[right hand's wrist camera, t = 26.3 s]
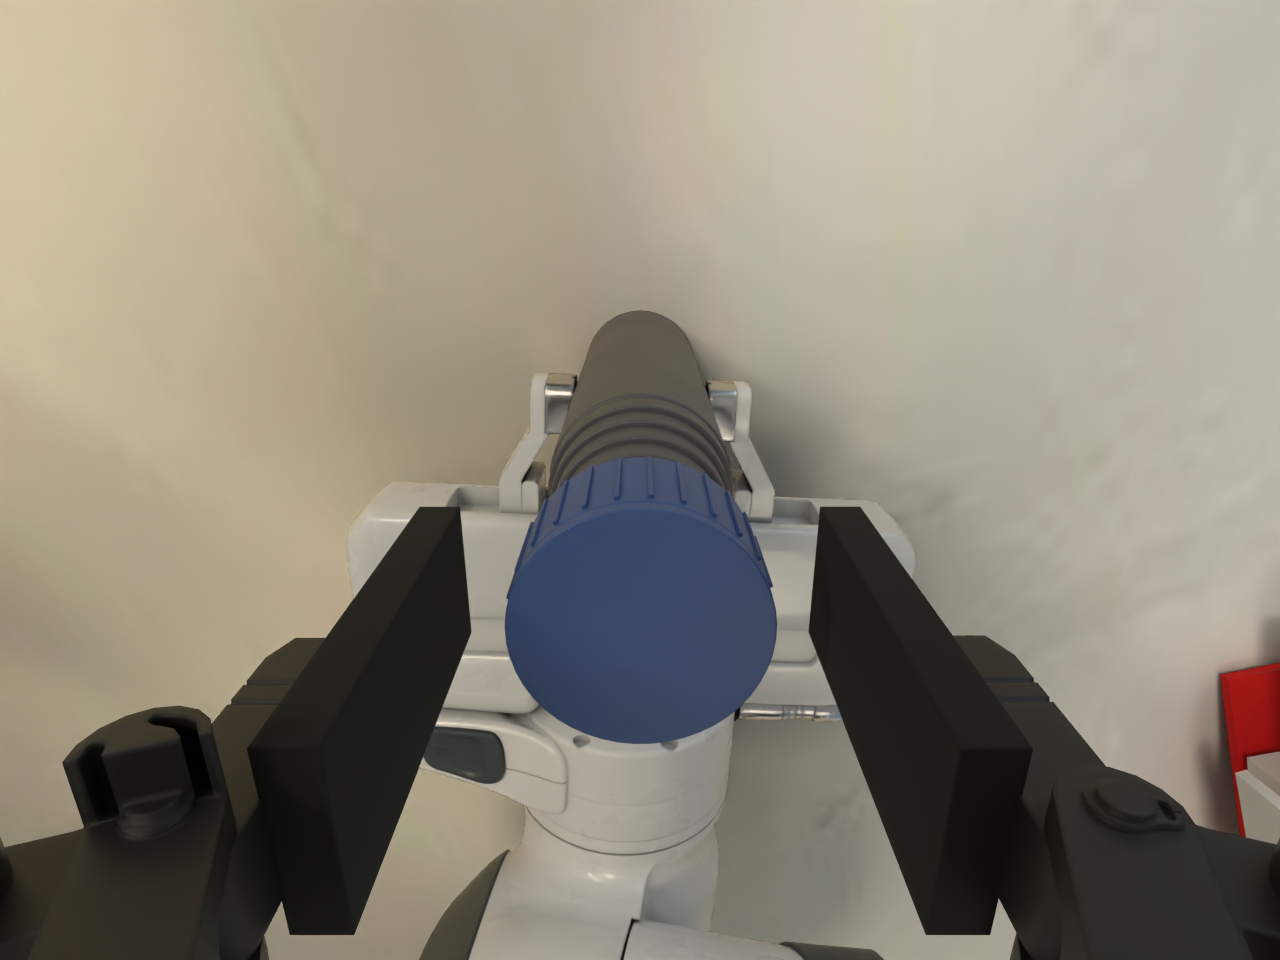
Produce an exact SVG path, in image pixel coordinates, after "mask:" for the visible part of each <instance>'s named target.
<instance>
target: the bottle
mask: <svg viewBox="0 0 1280 960" xmlns="http://www.w3.org/2000/svg"><path fill="white" fill-rule="evenodd" d="M647 456H649V457H652V458H658V459H665V460H669V461H673V462H677V461H678V462H681V464H683V465H685V466H688V467H691V468H693V469H695V470H697V471H699V472H701V473H703V474H704V473H706V474H708V476H709V478H710V479H712V480H713V481H715V482H716V483H718V484H719V485H720V486H721V487H722V488H723V489H724V490H725V491H727V490H728V491H729V492H730V493H731V496H732V497H733V483H732V476H731V466H730V460H729V457H728V454H727V450H726V447H725V444H724V441H723V439H722V436H721V433H720V430H719V427H718V424H717V421H716V418H715V415H714V412H713V409H712V407H711V404H710V401H709V398H708V395H707V392H706V389H705V386H704V383H703V380H702V377H701V374H700V372H699V369H698V366H697V363H696V360H695V357H694V354H693V351H692V348H691V345H690V343H689V341H688V339H687V337H686V336H685V334H684V332H683V331H682V330H681V329H680V328H679V327H678V326H677V325H676V324H675V323H674V322H673V321H671V320H670V319H668V318H666V317H664V316H662V315H660V314H657V313H654V312H649V311H632V312H627V313H624V314H621V315H618V316H616V317H614V318H613V319H611V320H610V321H608V322H607V323H606V324H605V325H603V326H602V327H601V329H600V330H599V331H598V332H597V334H596V335H595V337H594V338H593V340H592V342H591V345H590V348H589V351H588V354H587V357H586V359H585V362H584V365H583V368H582V371H581V374H580V377H579V380H578V383H577V386H576V389H575V392H574V395H573V398H572V401H571V404H570V407H569V410H568V413H567V416H566V419H565V421H564V424H563V427H562V430H561V433H560V436H559V439H558V442H557V445H556V448H555V451H554V454H553V457H552V462H551V467H550V478H549V490H548V495H549V498H550V496H551V495H552V494H553V493H554V492H555V491H556V490H557V489H558V488H559V487H560V486H562V485H563V482H564V481H565V480H570V479H571V478H572V477H574V476H576V475H577V474H579V473H581V472H583V471H584V470H586V469H588V467H590V466H593V467H594V466H596V465H598V464H601V463H605V462H609V461H612V460H617V458H622V459H624V458H634V457H647Z"/></svg>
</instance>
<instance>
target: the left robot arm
mask: <svg viewBox="0 0 1280 960" xmlns="http://www.w3.org/2000/svg"><path fill="white" fill-rule="evenodd" d="M576 386H577V375H573V374H556V373H535V374H534V376H533V378H532V380H531V388H530V426H529V427H528V429H527V431H526V432H525V434H524V436H523V437H522V439H521V441H520V442H519V444H518V446H517V447H516V449H515V451H514V452H513V454H512V456H511V457H510V459H509V461H508V463H507V465H506V467H505V468H504V470H503V472H502V474H501V476H500V478H499V485H477V484H452V483H428V482H405V481H399V482H392V483H390V484H388V485H387V486H385V487H384V488H383V489H382V490H381V491H380V492H379V493H378V494H377V495H376V496H375V497H374V498H373V499H372V500H371V501H370V502H369V503H368V504H367V505H366V506H365V507H364V508H363V510H362V511H361V512H360V514H359V515H358V516H357V518H356V519H355V520H354V522H353V524H352V526H351V528H350V530H349V533H348V538H347V557H348V567H349V575H350V581H351V588H352V594H353V599H354V598H355V596H356V595H357V594H358V592H359V591H360V589H361V588H362V587H363V585H364V584H365V582H366V581H367V580H368V578H369V577H370V575H371V574H372V573H373V571H374V570H375V568H376V567H377V566H378V564H379V563H380V561H381V560H382V559H383V557H384V556H385V554H386V553H387V552H388V550H389V549H390V547H391V546H392V545H393V543H394V542H395V540H396V539H397V538H398V536H399V535H400V533H401V532H402V531H403V529H404V528H405V526H406V525H407V524H408V522H409V521H410V519H411V518H412V517H413V515H414V514H415V512H416V511H417V510H418V508H419V507H460V512H461V523H462V534H463V545H464V555H465V566H466V577H467V588H468V598H469V609H470V620H471V631H472V632H471V635H470V637H469V640H468V643H467V645H466V648H465V650H464V653H463V655H462V658H461V661H460V663H459V666H458V668H457V671H456V674H455V676H454V679H453V681H452V684H451V686H450V689H449V692H448V694H447V697H446V699H445V702H444V704H443V707H442V710H441V712H440V715H439V717H438V720H437V722H436V725H435V728H434V730H433V733H432V735H431V738H430V740H429V743H428V746H427V748H426V751H425V753H424V756H423V759H422V761H421V764H420V766H419V768H420V769H424V770H427V771H431V772H434V773H438V774H441V775H445V776H448V777H451V778H455V779H458V780H461V781H464V782H467V783H470V784H473V785H476V786H479V787H482V788H485V789H487V790H490V791H493V792H495V793H498V794H500V795H503V796H505V797H508V798H510V799H512V800H514V801H516V802H518V803H520V804H523V805H524V808H525V816H526V821H525V828H524V833H523V837H522V840H521V843H520V845H519V847H518V848H517V849H516V850H514V851H510V850H506V851H505V852H503V853H502V854H500V855H499V856H498V857H496V858H495V859H494V860H493V861H492V862H491V863H490V864H488V865H487V866H486V867H485V868H484V869H483V870H482V871H481V872H480V873H479V874H478V876H477V877H476V878H475V879H474V880H473V881H472V882H471V883H470V884H469V885H468V886H467V887H466V888H465V889H464V890H463V891H462V892H461V893H460V894H459V895H458V897H457V898H456V899H455V900H454V901H453V902H452V904H451V905H450V906H449V908H448V909H447V910H446V912H445V913H444V915H443V916H442V918H441V919H440V921H439V922H438V924H437V926H436V927H435V929H434V931H433V932H432V934H431V936H430V938H429V940H428V942H427V944H426V946H425V948H424V950H423V952H422V954H421V957H420V959H419V960H884V959H883V958H882V957H881V956H880V955H879V954H878V953H876V952H875V951H873V950H871V949H860V948H849V947H838V946H826V945H815V944H805V943H795V942H781V943H780V944H778V945H777V944H772V943H766V942H761V941H756V940H751V939H745V938H740V937H735V936H730V935H725V934H719V933H714V932H709V928H710V923H711V918H712V912H713V906H714V899H715V893H716V886H717V877H718V868H719V852H718V844H717V839H716V835H715V831H714V827H715V825H716V823H717V821H718V819H719V817H720V814H721V812H722V809H723V806H724V802H725V798H726V793H727V784H728V776H729V766H730V756H731V747H732V739H733V725H734V721H736V719H747V720H781V719H782V720H785V719H794V718H795V719H800V718H801V719H811V720H812V721H816V722H836V721H842V717H841V715H840V712H839V710H838V707H837V704H836V702H835V699H834V697H833V694H832V692H831V689H830V686H829V684H828V681H827V679H826V676H825V674H824V671H823V668H822V666H821V663H820V661H819V658H818V656H817V653H816V650H815V648H814V645H813V643H812V640H811V637H810V635H809V632H808V631H809V620H810V609H811V598H812V588H813V577H814V566H815V555H816V544H817V534H818V523H819V512H820V507H861V508H862V510H863V511H864V512H865V514H866V515H867V517H868V518H869V519H870V521H871V522H872V524H873V525H874V526H875V528H876V529H877V531H878V532H879V533H880V535H881V536H882V538H883V539H884V540H885V542H886V543H887V545H888V546H889V547H890V549H891V550H892V552H893V553H894V554H895V556H896V557H897V559H898V560H899V561H900V563H901V564H902V566H903V567H904V568H905V570H906V571H907V573H908V574H909V575H910V577H911V578H912V579H913V574H914V569H915V562H916V559H915V553H914V550H913V547H912V545H911V543H910V541H909V540H908V538H907V536H906V535H905V533H904V532H903V530H902V529H901V527H900V526H899V525H898V524H897V522H896V521H895V520H894V519H893V518H892V517H891V516H890V515H889V514H888V513H887V511H886V510H885V509H884V508H883V507H882V506H881V505H879V504H878V503H876V502H874V501H869V500H850V499H825V498H800V497H775V490H774V488H773V486H772V484H771V481H770V479H769V477H768V475H767V473H766V470H765V468H764V466H763V464H762V462H761V460H760V458H759V456H758V454H757V452H756V450H755V448H754V446H753V444H752V442H751V440H750V438H749V425H750V415H751V404H752V392H751V387H750V386H749V384H748V382H747V381H724V380H706V382H705V389H706V392H707V395H708V398H709V401H710V404H711V407H712V409H713V412H714V415H715V418H716V421H717V424H718V427H719V430H720V433H721V436H722V439H723V441H729V443H730V445H731V448H732V450H733V452H734V454H735V456H736V458H737V460H738V462H739V464H740V466H741V468H742V470H743V472H744V473H743V472H742V471H741V470H731V476H732V483H733V497H732V498H733V500H734V501H735V502H736V503H737V505H738V506H739V508H740V509H741V511H742V513H743V512H746V514H747V516H748V519H749V522H750V525H751V528H752V531H753V534H754V536H756V537H757V540H758V543H759V546H760V549H761V552H762V555H763V558H764V561H765V564H766V566H767V569H768V572H769V575H770V578H771V581H772V584H773V587H772V588H770V589H771V592H772V596H773V600H774V604H775V608H776V617H777V636H776V643H775V648H774V653H773V656H772V659H771V661H770V664H769V667H768V669H767V671H766V673H765V675H764V677H763V679H762V681H761V682H760V684H759V685H758V687H757V688H756V689H755V691H754V692H753V693H752V695H751V696H750V697H749V698H748V699H747V700H746V701H745V702H744V703H743V704H742V705H741V707H739V708H738V709H737V710H736V711H734V712H733V713H732V714H731V715H730V716H728V717H727V718H725V719H724V720H722V721H721V722H719V723H717V724H716V725H714V726H712V727H710V728H708V729H706V730H704V731H702V732H700V733H697V734H694V735H691V736H688V737H686V738H682V739H678V740H673V741H669V742H662V743H653V744H629V743H619V742H613V741H608V740H603V739H600V738H597V737H593V736H590V735H587V734H585V733H582V732H580V731H578V730H576V729H573V728H571V727H569V726H568V725H566V724H564V723H563V722H561V721H559V720H558V719H556V718H555V717H554V716H552V715H551V714H550V713H548V712H547V711H546V710H544V709H543V708H542V707H541V706H540V705H539V704H538V703H537V702H536V701H535V700H534V699H533V697H532V696H531V695H530V694H529V692H528V691H527V690H526V689H525V687H524V686H523V684H522V682H521V681H520V679H519V677H518V676H517V674H516V672H515V670H514V667H513V665H512V662H511V660H510V657H509V653H508V649H507V645H506V637H505V612H506V608H507V603H508V599H506V597H507V593H508V590H509V587H510V584H511V581H512V578H513V575H514V572H515V571H514V569H515V566H516V563H517V560H518V557H519V554H520V551H521V548H522V546H523V543H524V540H525V537H526V534H527V531H528V528H529V525H530V523H531V522H534V521H535V519H536V517H537V515H538V513H539V512H540V510H541V507H542V504H543V501H544V500H545V499H547V500H548V499H549V495H548V490H549V487H546V472H545V464H544V463H543V462H533V461H534V459H535V457H536V456H537V454H538V452H539V451H540V449H541V447H542V446H543V444H544V442H545V441H546V439H547V437H548V436H549V434H560V433H561V430H562V427H563V424H564V421H565V419H566V416H567V413H568V410H569V407H570V404H571V401H572V398H573V395H574V392H575V389H576ZM532 462H533V463H532Z"/></svg>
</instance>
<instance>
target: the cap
mask: <svg viewBox="0 0 1280 960" xmlns="http://www.w3.org/2000/svg"><path fill="white" fill-rule="evenodd" d="M514 571H515V572H514V575H513V578H512V581H511V584H510V587H509V590H508V593H507V597H506V599H508V603H507V608H506V612H505V637H506V645H507V649H508V653H509V657H510V660H511V662H512V665H513V667H514V670H515V672H516V674H517V676H518V677H519V679H520V681H521V682H522V684H523V686H524V687H525V689H526V690H527V691H528V692H529V694H530V695H531V696H532V697H533V699H534V700H535V701H536V702H537V703H538V704H539V705H540V706H541V707H542V708H543V709H544V710H546V711H547V712H548V713H550V714H551V715H552V716H554V717H555V718H556V719H558V720H559V721H561V722H563V723H564V724H566V725H568V726H569V727H571V728H573V729H576V730H578V731H580V732H582V733H585V734H587V735H590V736H593V737H597V738H600V739H603V740H608V741H613V742H619V743H629V744H653V743H662V742H669V741H673V740H678V739H682V738H686V737H688V736H691V735H694V734H697V733H700V732H702V731H704V730H706V729H708V728H710V727H712V726H714V725H716V724H717V723H719V722H721V721H722V720H724V719H725V718H727V717H728V716H730V715H731V714H732V713H733V712H734V711H736V710H737V709H738V708H739V707H741V705H742V704H743V703H744V702H745V701H746V700H747V699H748V698H749V697H750V696H751V695H752V693H753V692H754V691H755V689H756V688H757V687H758V685H759V684H760V682H761V681H762V679H763V677H764V675H765V673H766V671H767V669H768V667H769V664H770V661H771V659H772V656H773V653H774V648H775V643H776V636H777V617H776V608H775V604H774V600H773V596H772V592H771V589H770V588H772V587H773V584H772V581H771V578H770V575H769V572H768V569H767V566H766V564H765V561H764V558H763V555H762V552H761V549H760V546H759V543H758V540H757V537H756V536H754V534H753V531H752V528H751V525H750V522H749V519H748V516H747V514H746V512H743V513H742V511H741V509H740V508H739V506H738V505H737V503H736V502H735V501H734V500H733V498H732V496H731V493H730V492H729V491H728V490H727V491H725V490H724V489H723V488H722V487H721V486H720V485H719V484H718V483H716V482H715V481H713V480H712V479H710V478H709V476H708V474H706V473H704V474H703V473H701V472H699V471H697V470H695V469H693V468H691V467H688V466H685V465H683V464H681V462H678V461H677V462H673V461H669V460H665V459H658V458H652V457H649V456H647V457H634V458H624V459H622V458H617V460H612V461H609V462H605V463H601V464H598V465H596V466H594V467H593V466H590V467H588V469H586V470H584V471H583V472H581V473H579V474H577V475H576V476H574V477H572V478H571V479H570V480H565V481H564V482H563V485H562V486H560V487H559V488H558V489H557V490H556V491H555V492H554V493H553V494H552V495H551V496H550V498H549V499H548V500H547V499H545V500H544V501H543V504H542V507H541V510H540V512H539V513H538V515H537V517H536V519H535V521H534V522H531V523H530V525H529V528H528V531H527V534H526V537H525V540H524V543H523V546H522V548H521V551H520V554H519V557H518V560H517V563H516V566H515V569H514Z"/></svg>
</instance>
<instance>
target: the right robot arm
mask: <svg viewBox="0 0 1280 960" xmlns="http://www.w3.org/2000/svg"><path fill="white" fill-rule="evenodd" d="M471 632H472V631H471V620H470V609H469V598H468V588H467V577H466V566H465V555H464V545H463V534H462V523H461V512H460V507H419V508H418V510H417V511H416V512H415V514H414V515H413V517H412V518H411V519H410V521H409V522H408V524H407V525H406V526H405V528H404V529H403V531H402V532H401V533H400V535H399V536H398V538H397V539H396V540H395V542H394V543H393V545H392V546H391V547H390V549H389V550H388V552H387V553H386V554H385V556H384V557H383V559H382V560H381V561H380V563H379V564H378V566H377V567H376V568H375V570H374V571H373V573H372V574H371V575H370V577H369V578H368V580H367V581H366V582H365V584H364V585H363V587H362V588H361V589H360V591H359V592H358V594H357V595H356V596H355V598H354V599H353V601H352V602H351V603H350V605H349V606H348V608H347V609H346V610H345V612H344V613H343V615H342V616H341V617H340V619H339V620H338V622H337V623H336V624H335V626H334V627H333V629H332V630H331V631H330V633H329V634H328V636H327V637H326V638H295V639H293V640H292V641H290V642H289V643H287V644H286V645H284V646H283V647H281V648H280V649H278V650H277V651H275V652H274V653H272V654H271V655H269V656H268V657H266V658H265V659H264V660H263V662H262V663H261V664H260V665H259V667H258V668H257V669H256V670H255V671H254V673H253V674H252V675H251V676H250V678H249V679H248V680H247V685H243V686H242V687H241V689H240V690H239V691H238V692H237V694H236V695H235V696H234V697H233V698H232V700H231V705H227V706H226V707H225V708H224V710H223V711H222V712H221V713H220V714H219V716H218V717H217V718H216V719H215V721H214V722H213V723H212V724H211V720H210V718H209V717H208V716H206V715H205V714H204V713H203V712H201V711H200V710H199V709H194V708H188V707H183V706H172V707H161V708H153V709H149V710H146V711H142V712H138V713H135V714H131V715H128V716H125V717H123V718H121V719H119V720H117V721H114V722H112V723H110V724H108V725H106V726H104V727H102V728H100V729H98V730H97V731H95V732H94V733H92V734H91V735H90V736H88V737H87V738H85V739H84V740H83V741H81V742H80V743H78V744H77V745H76V746H75V747H74V749H73V750H72V751H71V752H70V754H69V755H68V756H67V757H66V758H65V760H64V761H63V762H62V763H63V766H64V769H65V772H66V775H67V778H68V781H69V784H70V787H71V790H72V793H73V796H74V798H75V801H76V804H77V807H78V810H79V813H80V816H81V819H82V822H83V825H84V828H83V829H80V830H77V831H74V832H70V833H66V834H61V835H57V836H53V837H48V838H44V839H39V840H35V841H31V842H26V843H22V844H18V845H13V846H9V847H5V848H4V846H3V843H2V841H1V838H0V960H269V957H268V950H267V945H266V941H265V937H264V934H265V932H266V930H267V928H268V927H269V925H270V923H271V921H272V919H273V917H274V915H275V913H276V911H277V909H278V907H279V905H280V903H281V901H282V903H283V907H284V911H285V916H286V920H287V924H288V929H289V933H290V935H354V934H355V931H356V929H357V926H358V923H359V921H360V918H361V916H362V913H363V910H364V908H365V905H366V903H367V900H368V898H369V895H370V892H371V890H372V887H373V885H374V882H375V880H376V877H377V874H378V872H379V869H380V867H381V864H382V862H383V859H384V856H385V854H386V851H387V849H388V846H389V844H390V841H391V838H392V836H393V833H394V831H395V828H396V825H397V823H398V820H399V818H400V815H401V813H402V810H403V807H404V805H405V802H406V800H407V797H408V795H409V792H410V789H411V787H412V784H413V782H414V779H415V777H416V774H417V771H418V769H419V766H420V764H421V761H422V759H423V756H424V753H425V751H426V748H427V746H428V743H429V740H430V738H431V735H432V733H433V730H434V728H435V725H436V722H437V720H438V717H439V715H440V712H441V710H442V707H443V704H444V702H445V699H446V697H447V694H448V692H449V689H450V686H451V684H452V681H453V679H454V676H455V674H456V671H457V668H458V666H459V663H460V661H461V658H462V655H463V653H464V650H465V648H466V645H467V643H468V640H469V637H470V635H471ZM808 632H809V635H810V637H811V640H812V643H813V645H814V648H815V650H816V653H817V656H818V658H819V661H820V663H821V666H822V668H823V671H824V674H825V676H826V679H827V681H828V684H829V686H830V689H831V692H832V694H833V697H834V699H835V702H836V704H837V707H838V710H839V712H840V715H841V717H842V720H843V722H844V725H845V728H846V730H847V733H848V735H849V738H850V741H851V743H852V746H853V748H854V751H855V753H856V756H857V759H858V761H859V764H860V766H861V769H862V771H863V774H864V777H865V779H866V782H867V784H868V787H869V789H870V792H871V795H872V797H873V800H874V802H875V805H876V808H877V810H878V813H879V815H880V818H881V820H882V823H883V826H884V828H885V831H886V833H887V836H888V838H889V841H890V844H891V846H892V849H893V851H894V854H895V856H896V859H897V862H898V864H899V867H900V869H901V872H902V874H903V877H904V880H905V882H906V885H907V887H908V890H909V893H910V895H911V898H912V900H913V903H914V905H915V908H916V911H917V913H918V916H919V918H920V921H921V923H922V926H923V929H924V931H925V934H926V935H990V933H991V929H992V924H993V920H994V916H995V911H996V907H997V903H998V898H999V899H1000V901H1001V903H1002V905H1003V907H1004V909H1005V911H1006V913H1007V915H1008V917H1009V919H1010V921H1011V923H1012V925H1013V927H1014V928H1015V930H1016V932H1017V933H1016V937H1015V941H1014V945H1013V949H1012V953H1011V957H1010V960H1280V838H1279V840H1278V843H1277V844H1272V843H1268V842H1264V841H1259V840H1255V839H1251V838H1246V837H1242V836H1237V835H1233V834H1229V833H1224V832H1220V831H1216V830H1211V829H1207V828H1204V827H1201V826H1197V825H1195V823H1194V822H1193V820H1192V819H1191V818H1190V816H1189V815H1188V813H1187V812H1186V810H1185V809H1184V808H1183V806H1181V805H1180V804H1179V803H1178V802H1176V801H1175V800H1174V799H1173V798H1172V797H1170V796H1169V795H1168V794H1167V793H1166V792H1164V791H1163V790H1162V789H1160V788H1158V787H1156V786H1154V785H1153V784H1151V783H1149V782H1147V781H1145V780H1143V779H1141V778H1139V777H1138V776H1135V775H1132V774H1129V773H1126V772H1123V771H1120V770H1117V769H1113V768H1110V767H1106V766H1105V765H1104V763H1103V762H1102V761H1101V760H1100V759H1099V757H1098V756H1097V755H1096V754H1095V752H1094V751H1093V750H1092V749H1091V748H1090V746H1089V745H1088V744H1087V743H1086V742H1085V740H1084V739H1083V738H1082V737H1081V735H1080V734H1079V733H1078V732H1077V731H1076V729H1075V728H1074V727H1073V726H1072V724H1071V723H1070V722H1069V721H1068V720H1067V718H1066V717H1065V716H1064V715H1063V713H1062V712H1061V711H1060V710H1059V709H1058V707H1057V706H1056V705H1055V704H1054V702H1050V701H1049V696H1048V695H1047V694H1046V693H1045V692H1044V690H1043V689H1042V688H1041V687H1040V685H1039V684H1038V683H1034V680H1033V679H1034V678H1033V677H1032V676H1031V674H1030V673H1029V672H1028V671H1027V670H1026V668H1025V667H1024V666H1023V665H1022V663H1021V662H1020V661H1019V660H1018V659H1017V657H1016V656H1015V655H1014V654H1012V653H1011V652H1009V651H1008V650H1006V649H1005V648H1003V647H1001V646H1000V645H998V644H997V643H995V642H994V641H992V640H991V639H989V638H988V637H986V636H952V634H951V633H950V631H949V630H948V629H947V627H946V626H945V624H944V623H943V622H942V620H941V619H940V617H939V616H938V615H937V613H936V612H935V610H934V609H933V608H932V606H931V605H930V603H929V602H928V601H927V599H926V598H925V596H924V595H923V594H922V592H921V591H920V589H919V588H918V587H917V585H916V584H915V582H914V581H913V580H912V578H911V577H910V575H909V574H908V573H907V571H906V570H905V568H904V567H903V566H902V564H901V563H900V561H899V560H898V559H897V557H896V556H895V554H894V553H893V552H892V550H891V549H890V547H889V546H888V545H887V543H886V542H885V540H884V539H883V538H882V536H881V535H880V533H879V532H878V531H877V529H876V528H875V526H874V525H873V524H872V522H871V521H870V519H869V518H868V517H867V515H866V514H865V512H864V511H863V510H862V508H861V507H820V512H819V523H818V534H817V544H816V555H815V566H814V577H813V588H812V598H811V609H810V620H809V631H808Z"/></svg>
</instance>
